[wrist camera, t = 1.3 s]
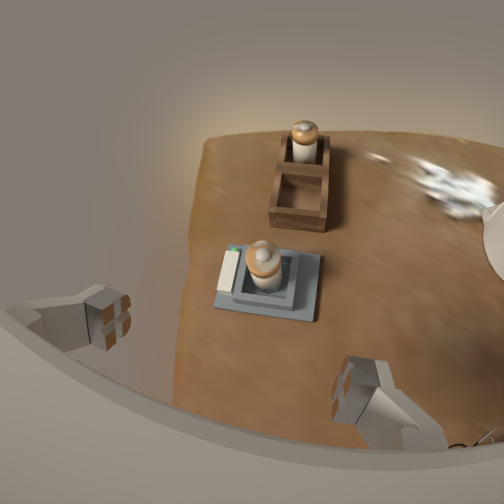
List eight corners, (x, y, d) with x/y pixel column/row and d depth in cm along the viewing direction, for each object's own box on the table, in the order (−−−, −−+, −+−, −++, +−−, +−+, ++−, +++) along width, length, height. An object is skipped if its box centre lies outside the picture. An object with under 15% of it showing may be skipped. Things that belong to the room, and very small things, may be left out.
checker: (229, 246, 45) (225, 236, 42) (319, 257, 43) (321, 247, 39) (215, 308, 41) (209, 302, 38) (312, 322, 39) (314, 317, 35)
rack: (283, 149, 53) (282, 132, 49) (327, 153, 51) (329, 136, 47) (270, 227, 46) (268, 211, 42) (323, 232, 44) (326, 217, 40)
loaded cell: (308, 152, 50) (309, 115, 42) (320, 167, 49) (323, 129, 41) (288, 160, 50) (287, 122, 42) (300, 175, 48) (300, 137, 40)
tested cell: (274, 262, 42) (270, 232, 34) (287, 286, 40) (286, 261, 32) (249, 274, 42) (238, 247, 34) (261, 299, 40) (253, 277, 32)
